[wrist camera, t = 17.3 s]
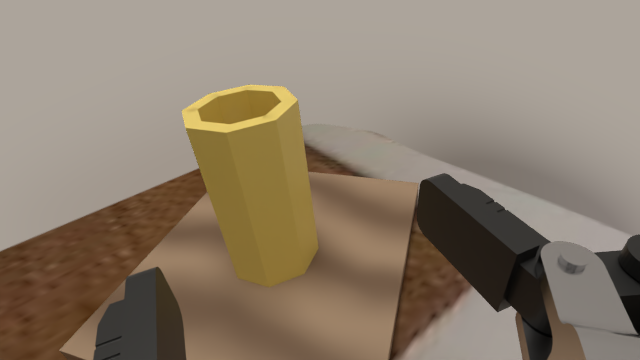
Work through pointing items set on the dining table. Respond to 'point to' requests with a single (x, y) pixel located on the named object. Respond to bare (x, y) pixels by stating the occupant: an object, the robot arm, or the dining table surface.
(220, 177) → the yellow hollow tube
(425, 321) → the dining table surface
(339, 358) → the board
